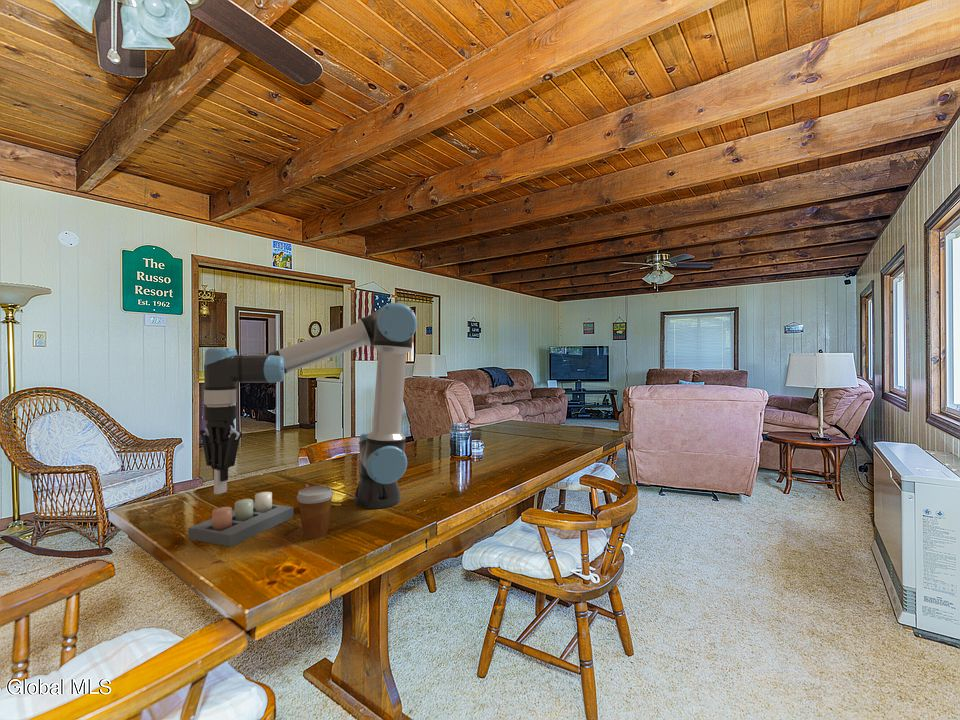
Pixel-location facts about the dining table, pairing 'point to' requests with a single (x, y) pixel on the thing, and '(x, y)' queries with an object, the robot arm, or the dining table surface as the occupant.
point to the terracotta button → (221, 518)
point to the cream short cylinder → (263, 502)
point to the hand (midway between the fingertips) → (220, 492)
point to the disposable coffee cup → (315, 510)
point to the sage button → (243, 509)
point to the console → (241, 526)
